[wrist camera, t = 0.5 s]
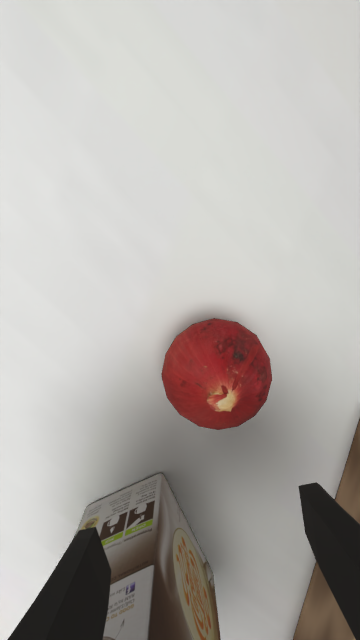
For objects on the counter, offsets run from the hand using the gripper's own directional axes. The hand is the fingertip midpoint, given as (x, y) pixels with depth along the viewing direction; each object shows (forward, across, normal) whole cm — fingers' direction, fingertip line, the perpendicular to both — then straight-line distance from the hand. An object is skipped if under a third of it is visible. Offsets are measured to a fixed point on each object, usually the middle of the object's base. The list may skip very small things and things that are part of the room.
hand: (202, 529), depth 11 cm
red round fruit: (+11, -2, -2) cm, 11 cm away
